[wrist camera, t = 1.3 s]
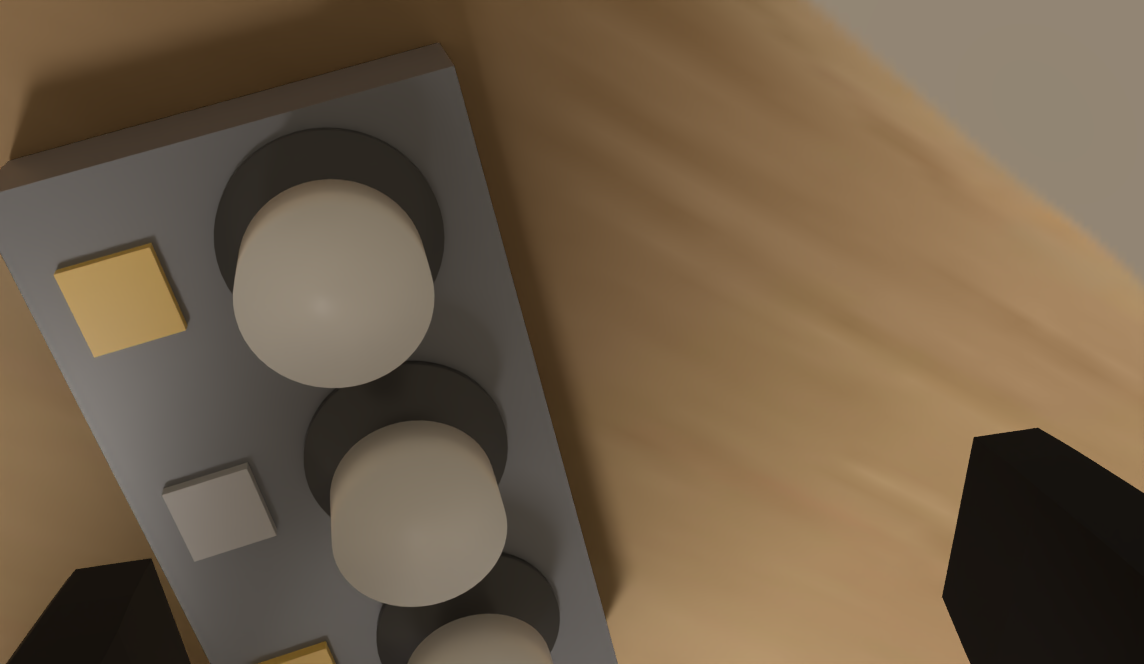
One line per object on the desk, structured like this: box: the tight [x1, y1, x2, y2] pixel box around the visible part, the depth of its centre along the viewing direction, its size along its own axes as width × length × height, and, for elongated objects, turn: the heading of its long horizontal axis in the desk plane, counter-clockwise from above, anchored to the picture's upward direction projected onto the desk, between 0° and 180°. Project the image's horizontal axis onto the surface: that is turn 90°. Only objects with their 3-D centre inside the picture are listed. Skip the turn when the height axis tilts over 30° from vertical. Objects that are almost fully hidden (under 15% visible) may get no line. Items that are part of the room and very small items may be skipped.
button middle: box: [330, 420, 507, 607], centre depth 17 cm, size 3×3×1 cm
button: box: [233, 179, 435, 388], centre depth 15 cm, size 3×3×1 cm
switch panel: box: [0, 43, 618, 664], centre depth 19 cm, size 7×13×2 cm, turn 13°
